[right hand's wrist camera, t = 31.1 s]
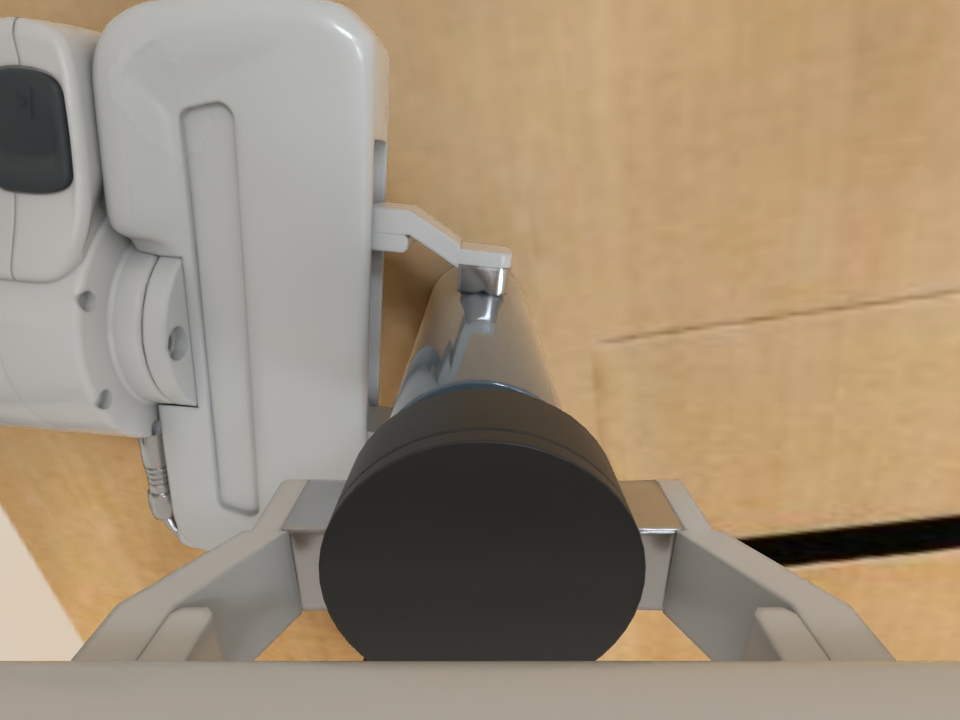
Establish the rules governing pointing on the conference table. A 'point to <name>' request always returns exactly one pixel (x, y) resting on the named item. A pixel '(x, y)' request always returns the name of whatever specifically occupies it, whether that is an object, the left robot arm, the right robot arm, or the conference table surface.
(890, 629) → the conference table surface
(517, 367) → the grey cylinder
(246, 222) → the left robot arm
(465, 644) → the lid
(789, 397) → the conference table surface
